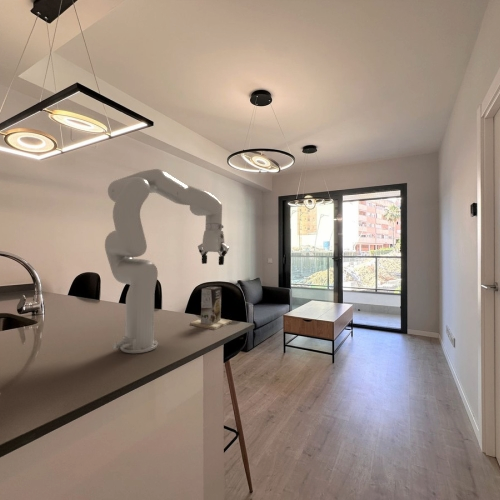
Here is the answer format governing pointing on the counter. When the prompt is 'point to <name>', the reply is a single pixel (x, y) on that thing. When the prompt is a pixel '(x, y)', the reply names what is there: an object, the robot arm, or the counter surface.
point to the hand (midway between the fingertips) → (212, 264)
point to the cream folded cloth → (213, 326)
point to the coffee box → (211, 305)
